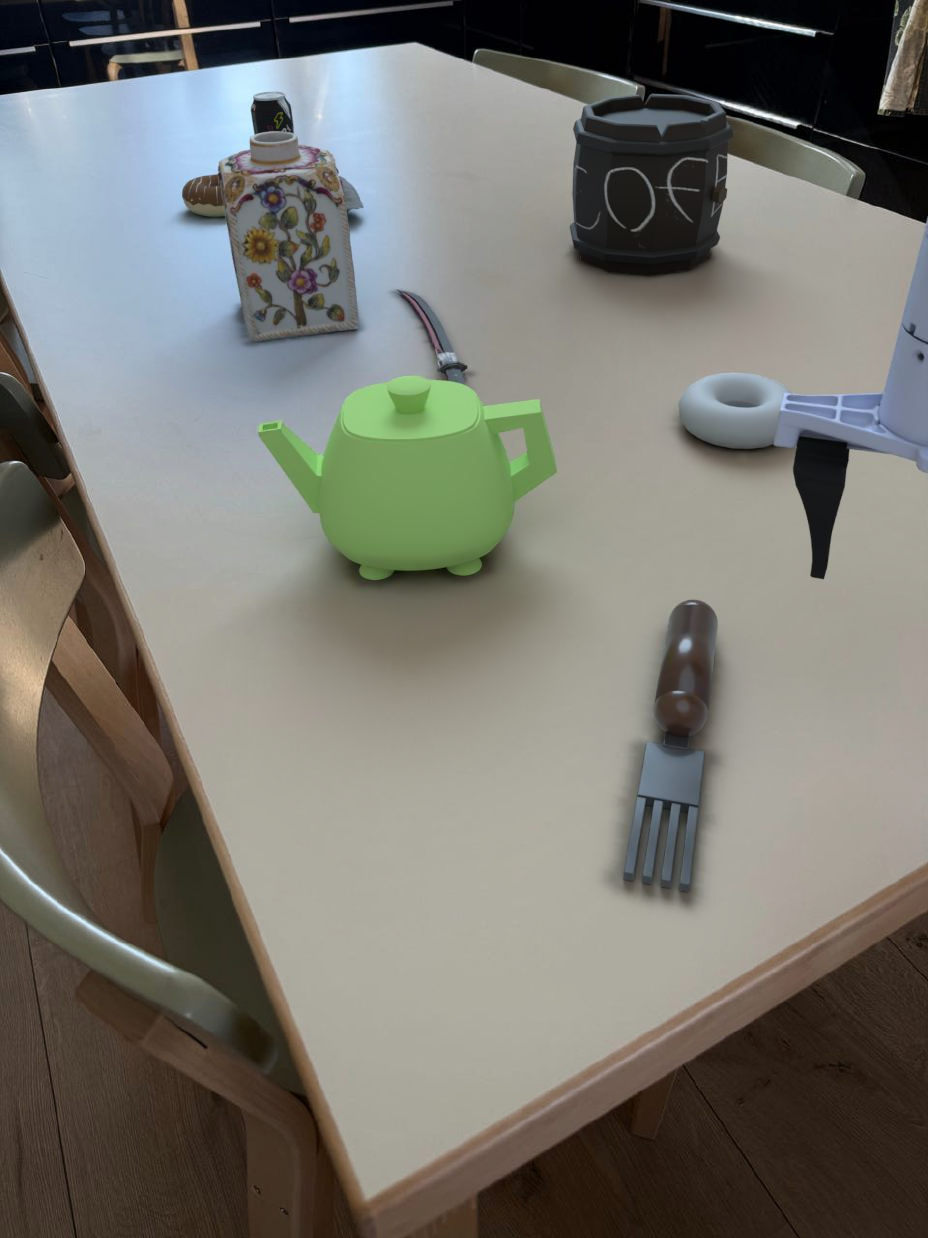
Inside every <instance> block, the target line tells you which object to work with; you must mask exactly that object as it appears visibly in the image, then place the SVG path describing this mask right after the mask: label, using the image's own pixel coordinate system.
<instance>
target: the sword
mask: <svg viewBox="0 0 928 1238" xmlns="http://www.w3.org/2000/svg"><path fill="white" fill-rule="evenodd" d="M397 291H398V292H399V294H400V295H401V296H402V297H404V298H405V300H407V301H408V302H409V303H410V305H412V307H413V308H414V309H415V311H416V313H417V314H418V315H419V317H420V318H421V320H422V322H423V324H424V326H425V328H426V330H427V332H428V334H429V337H430V339H431V342H432V345H433V347H434V351H435V354H436V357H437V360H436V361H437V366H438V367H437V372H438V373H441V374H443V375H446V378H447V381H451V382H456V383H460V384H463V385H466V381H465V379H464V378H465V377H464V375H463V372H465V371H466V370H468V364H465V363H463V362H461V361H459V359H458V357H457V355H456V353H455V351H454V349H453V346H452V344H451V342H450V340H449V337H448V336H447V332H446V331H445V328H444V327H443V325H442V323H441V321H440V320H439V318H438V316H437V314H436V312H434V311H433V309H432V308H431V307H430V305H429V304H428V303H427V302H426V301H425V299H424V298H422V297H421V296H420V295H418V294H415V293H413V292H409V291H405V290H401V289H397ZM439 344H440V345H439ZM466 386H467V385H466Z"/></svg>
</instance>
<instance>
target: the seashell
mask: <svg viewBox="0 0 928 1238" xmlns="http://www.w3.org/2000/svg"><path fill="white" fill-rule="evenodd" d="M338 176H339V178H340V179H341V180H342V183H343V189H344V194H345V198H346V208H347V212H349V211H351V210H359V209H364V204H363V202H362V201H361V197H360V195H359V192H358V191H357V189H356V188H355V187H354V185H352V183H350V182H349V181H348V180H347V179H346V178H345V177H343V176H341V175H338Z"/></svg>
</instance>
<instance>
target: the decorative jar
mask: <svg viewBox="0 0 928 1238" xmlns="http://www.w3.org/2000/svg"><path fill="white" fill-rule="evenodd" d="M336 163H337V162H336V159H335V158H334V155H333V153H331V152H330V151H329V150H327V149H322V148H318V147H314V146H309V145H305V144H299V139H298V136H297V134H293V133H289V132H279V131H273V132H263V133H259V134H255V135H254V134H253V135H251V136H249V149H245V150H242V151H238V152H237V153H234V154H231V155H229V156H227V157H225V158H222V159H220V160H219V161H218V166H217V171H218V173H217V174H218V175H219V183H220V186H221V193H222V199H223V205H224V211H225V216H224V218H225V222H226V228H227V234H228V241H229V245H230V253H231V258H232V264H233V268H234V274H235V278H236V279H235V280H236V284H237V289H238V293H239V299H240V305H241V311H242V316H243V320H244V323H245V329H246V334H247V337H248V339H249V340H250V342H252V343H260V342H267V341H276V340H281V339H288V338H289V339H290V338H295V337H296V338H297V337H306V336H314V335H321V334H328V333H335V332H343V331H351V330H358V329H359V327H360V322H359V309H358V308H359V307H358V299H357V298H358V297H357V296H358V295H357V287H356V277H355V267H354V260H353V259H354V258H353V251H352V245H351V235H350V234H351V233H350V226H349V219H348V218H349V217H348V211H347V208H346V198H345V194H344V189H343V183H342V180H341V179H340V178H339V176H340V175H339V169H338V167H337V164H336Z"/></svg>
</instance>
